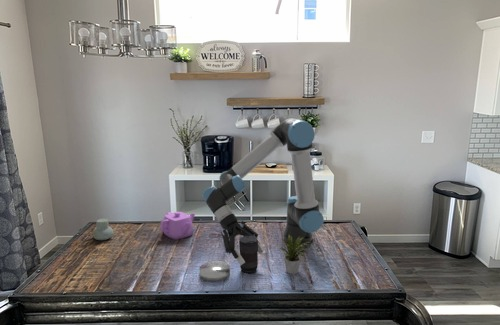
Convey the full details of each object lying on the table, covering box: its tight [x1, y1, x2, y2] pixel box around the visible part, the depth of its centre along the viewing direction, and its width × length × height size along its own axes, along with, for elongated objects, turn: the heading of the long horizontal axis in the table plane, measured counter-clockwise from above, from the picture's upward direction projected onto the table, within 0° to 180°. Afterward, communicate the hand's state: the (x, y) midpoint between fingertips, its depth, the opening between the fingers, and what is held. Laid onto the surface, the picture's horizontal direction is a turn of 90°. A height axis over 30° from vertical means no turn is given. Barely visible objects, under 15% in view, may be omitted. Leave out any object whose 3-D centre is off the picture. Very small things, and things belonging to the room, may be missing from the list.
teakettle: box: [159, 211, 196, 241], centre depth 204 cm, size 17×17×12 cm
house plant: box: [278, 235, 311, 275], centre depth 162 cm, size 14×14×16 cm
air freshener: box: [92, 218, 115, 241], centre depth 199 cm, size 11×8×10 cm
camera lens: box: [238, 236, 259, 275], centre depth 164 cm, size 8×8×15 cm
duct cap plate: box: [199, 260, 231, 283], centre depth 162 cm, size 13×13×3 cm
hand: (252, 258), depth 163 cm, fingers open, 13 cm apart
